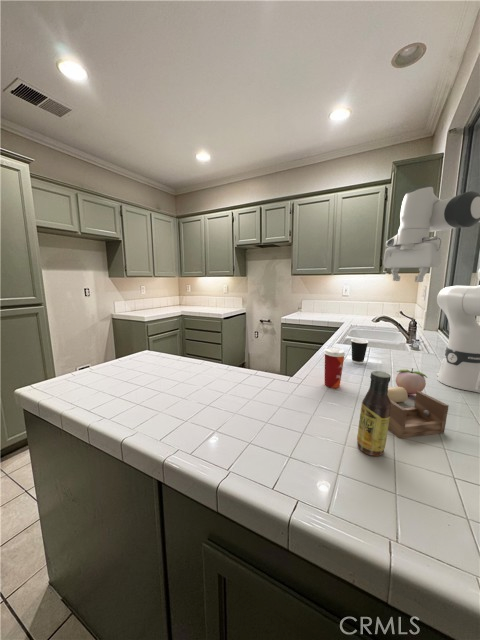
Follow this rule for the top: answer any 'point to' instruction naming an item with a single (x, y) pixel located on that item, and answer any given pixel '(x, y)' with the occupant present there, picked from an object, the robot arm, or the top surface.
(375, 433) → the sauce bottle
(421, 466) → the top surface
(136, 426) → the top surface
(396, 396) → the roll
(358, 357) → the dixie cup
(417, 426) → the holder
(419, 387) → the decorative fruit
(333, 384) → the paper cup
